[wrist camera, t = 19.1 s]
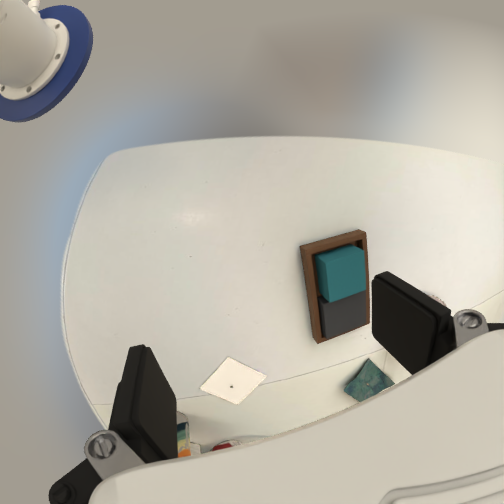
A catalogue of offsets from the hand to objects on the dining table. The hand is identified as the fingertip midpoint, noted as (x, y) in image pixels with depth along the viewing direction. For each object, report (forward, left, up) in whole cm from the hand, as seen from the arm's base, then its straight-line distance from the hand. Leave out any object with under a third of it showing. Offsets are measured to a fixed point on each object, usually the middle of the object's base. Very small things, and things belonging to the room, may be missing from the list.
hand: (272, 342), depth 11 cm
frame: (+14, +15, -26) cm, 33 cm away
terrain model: (+39, +21, -26) cm, 52 cm away
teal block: (+11, +15, -26) cm, 32 cm away
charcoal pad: (+18, +15, -26) cm, 35 cm away
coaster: (+26, -4, -26) cm, 37 cm away
